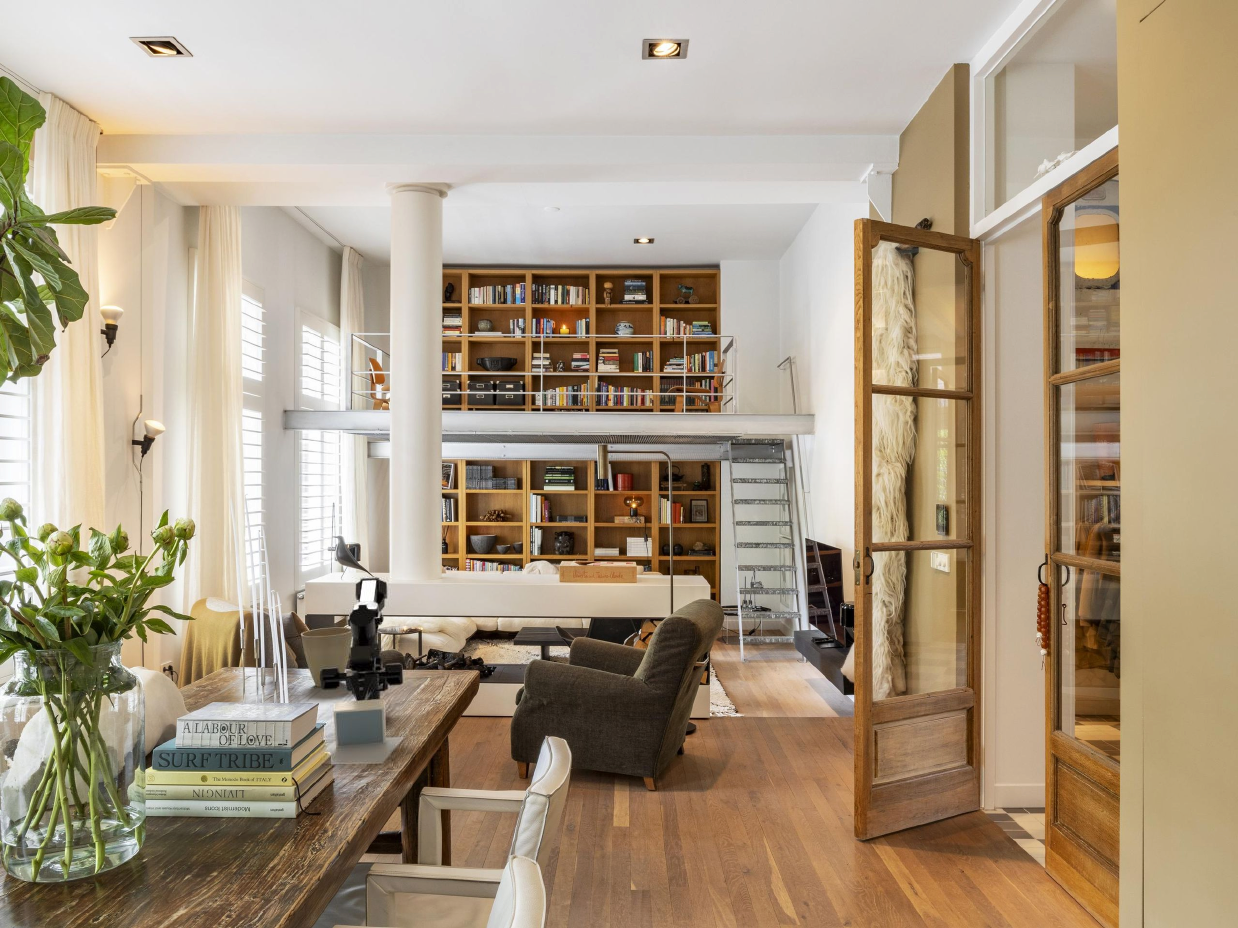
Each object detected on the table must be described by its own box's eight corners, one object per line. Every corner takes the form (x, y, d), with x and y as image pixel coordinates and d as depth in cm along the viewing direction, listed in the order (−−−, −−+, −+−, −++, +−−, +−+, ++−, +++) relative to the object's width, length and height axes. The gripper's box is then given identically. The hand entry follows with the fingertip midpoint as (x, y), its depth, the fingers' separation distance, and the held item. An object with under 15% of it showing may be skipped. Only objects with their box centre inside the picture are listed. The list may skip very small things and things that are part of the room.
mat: (337, 739, 196) (337, 737, 196) (404, 738, 196) (404, 736, 196) (308, 765, 178) (308, 764, 178) (382, 764, 178) (382, 763, 178)
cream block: (337, 738, 192) (335, 702, 189) (386, 734, 195) (384, 698, 191) (335, 748, 189) (333, 711, 186) (385, 743, 192) (384, 707, 188)
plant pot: (342, 675, 261) (342, 625, 261) (361, 684, 249) (360, 631, 250) (294, 683, 251) (294, 631, 252) (311, 693, 240) (310, 638, 240)
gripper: (320, 633, 195) (314, 692, 184) (402, 629, 199) (400, 686, 188) (324, 660, 202) (319, 718, 191) (403, 655, 206) (402, 711, 195)
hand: (360, 707), depth 191 cm, fingers closed
